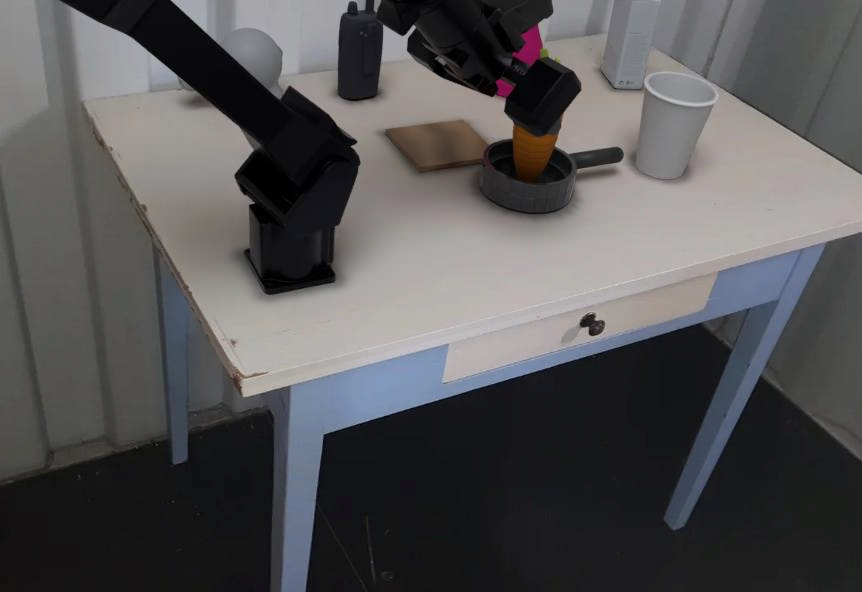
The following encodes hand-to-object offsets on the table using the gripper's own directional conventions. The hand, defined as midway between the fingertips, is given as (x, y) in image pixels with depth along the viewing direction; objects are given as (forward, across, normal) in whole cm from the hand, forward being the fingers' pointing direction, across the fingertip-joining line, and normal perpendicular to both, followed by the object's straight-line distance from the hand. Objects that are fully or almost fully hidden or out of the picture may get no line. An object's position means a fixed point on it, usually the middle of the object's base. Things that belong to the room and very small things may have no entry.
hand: (525, 111), depth 92 cm
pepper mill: (+20, +20, -6) cm, 29 cm away
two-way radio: (+6, +26, +8) cm, 28 cm away
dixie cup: (+21, -4, -7) cm, 23 cm away
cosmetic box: (+31, +16, -17) cm, 39 cm away
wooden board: (+7, +12, +7) cm, 15 cm away
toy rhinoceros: (-4, +31, +18) cm, 36 cm away
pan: (+8, 0, +5) cm, 10 cm away
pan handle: (+13, -2, -2) cm, 13 cm away
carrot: (+8, 0, +5) cm, 10 cm away
